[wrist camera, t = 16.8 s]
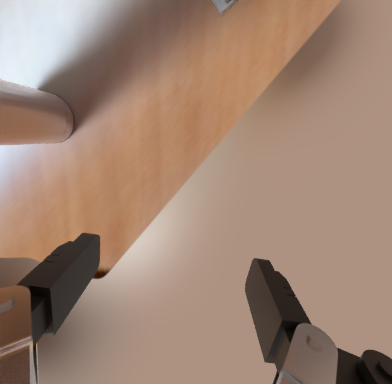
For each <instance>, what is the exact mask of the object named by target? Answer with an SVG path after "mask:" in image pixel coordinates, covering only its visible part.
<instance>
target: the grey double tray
mask: <svg viewBox="0 0 392 384" xmlns="http://www.w3.org/2000/svg"><path fill="white" fill-rule="evenodd" d="M211 1H212V2H213V4H214V5H215V7H216V8H217V10H218V11H219V13H220V14H221V16H222V15H223V14H224V13H225V12H226V11H227V10H228V9H229V8H230V7H231V6H232V5H233V4H234V3H235V2H237V1H238V0H211Z"/></svg>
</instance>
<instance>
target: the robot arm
mask: <svg viewBox="0 0 392 384" xmlns="http://www.w3.org/2000/svg"><path fill="white" fill-rule="evenodd" d="M73 127H74V118H73V114H72V111H71V109H70V107H69V106H68V104H67V103H66V102H65V101H64V100H63V99H61V98H60V97H59V96H56V95H54V94H51V93H47V92H44V91H40V90H37V89H33V88H29V87H26V86H22V85H19V84H15V83H11V82H8V81H4V80H0V145H20V144H48V143H60V142H63V141H65V140H66V139H67V138H68V137H69V136H70V135H71V133H72V131H73ZM99 262H100V236H99V235H96V234H89V233H82V234H81V235H80V236H79V237H78V238H77V239H76V240H75V241H74V242H72V241H69V242H67V243H65V244H63V245H61V246H59V247H57V248H56V249H55V250H54V251H53V252H52V253H51V254H50V255H49V256H47V257H46V258H45V259H44V261H43V262H41V263H40V264H39V265H38V266H37V267H35V268H34V269H33V270H32V271H31V272H30V273H29V274H28V275H27V276H26V277H25V278H23V279H22V280H21V281H20V282H19V283H18V284H17V285H16V286H8V287H4V288H1V289H0V384H39V383H38V360H37V342H38V341H39V339H40V338H41V337H42V335H43V334H45V335H53V336H54V335H55V334H56V332H57V331H58V329H59V328H60V326H61V325H62V323H63V322H64V320H65V319H66V317H67V315H68V314H69V312H70V311H71V310H72V308H73V307H74V305H75V303H76V302H77V301H78V299H79V297H80V296H81V295H82V293H83V291H84V290H85V288H86V287H87V285H88V284H89V282H90V281H91V279H92V278H93V276H94V275H95V273H96V272H97V269H98V267H99ZM245 292H246V296H247V300H248V303H249V307H250V311H251V314H252V318H253V321H254V325H255V329H256V332H257V336H258V339H259V343H260V346H261V350H262V353H263V357H264V361H265V362H268V363H275V365H276V368H277V372H276V374H275V377H274V379H273V383H272V384H392V359H391V358H389V357H388V356H386V355H384V354H382V353H380V352H378V351H375V350H366V351H364V352H363V354H362V356H361V357H358V356H355V355H353V354H351V353H348V352H346V351H344V350H341V349H339V348H337V347H336V346H335V344H334V342H333V341H332V339H331V338H330V337H329V336H328V335H327V334H326V333H325V332H324V331H322V330H321V329H319V328H318V327H316V326H313V325H312V324H311V322H310V321H309V319H308V317H307V315H306V313H305V311H304V310H303V308H302V306H301V304H300V303H299V301H298V299H297V297H295V294H294V292H293V290H291V287H290V285H289V283H288V281H287V280H286V278H285V277H283V276H282V274H280V273H279V272H278V271H274V268H273V266H272V264H271V262H270V261H269V260H264V259H257V258H254V259H253V261H252V264H251V267H250V270H249V273H248V276H247V280H246V284H245Z"/></svg>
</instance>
